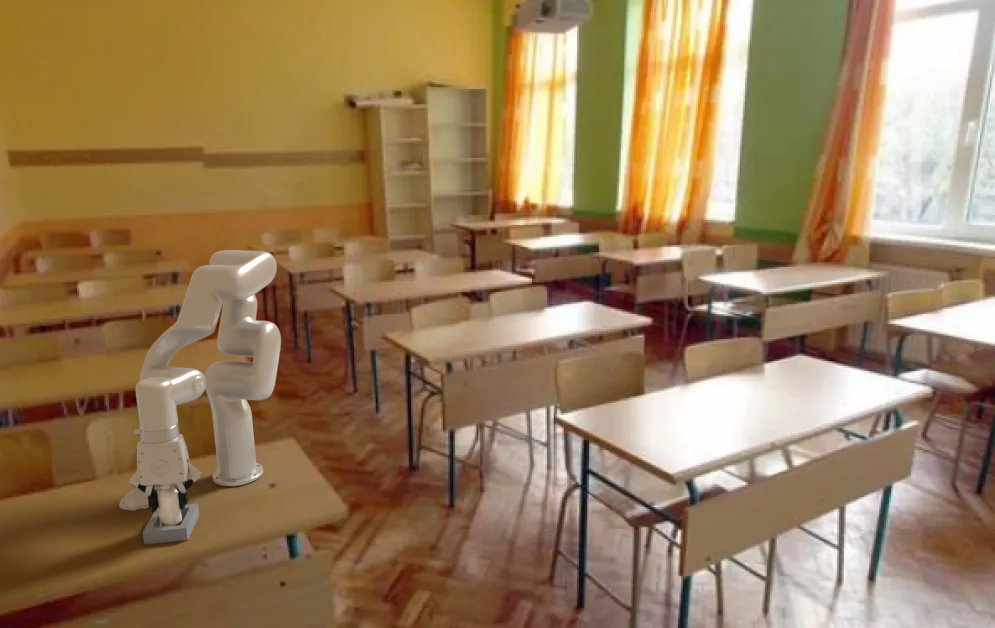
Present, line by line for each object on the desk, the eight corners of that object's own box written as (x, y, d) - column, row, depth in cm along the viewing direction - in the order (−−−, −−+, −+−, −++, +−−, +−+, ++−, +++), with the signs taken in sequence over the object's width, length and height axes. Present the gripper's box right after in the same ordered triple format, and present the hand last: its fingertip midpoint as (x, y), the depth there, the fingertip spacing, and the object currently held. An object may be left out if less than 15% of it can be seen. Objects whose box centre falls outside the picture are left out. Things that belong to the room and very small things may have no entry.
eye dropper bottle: (161, 529, 155) (155, 479, 152) (159, 518, 160) (153, 470, 157) (182, 524, 157) (176, 475, 154) (180, 513, 162) (174, 465, 159)
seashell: (108, 502, 165) (125, 475, 174) (114, 520, 168) (131, 492, 177) (152, 500, 166) (167, 473, 175) (158, 518, 168) (172, 490, 177)
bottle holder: (158, 518, 164) (157, 507, 163) (199, 515, 165) (198, 503, 164) (144, 544, 153) (142, 532, 152) (187, 540, 155) (186, 528, 154)
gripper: (112, 442, 148) (123, 520, 152) (197, 436, 151) (205, 512, 155) (124, 429, 156) (134, 503, 160) (205, 423, 159) (212, 496, 163)
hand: (169, 507), depth 158 cm, fingers closed on eye dropper bottle, 5 cm apart
